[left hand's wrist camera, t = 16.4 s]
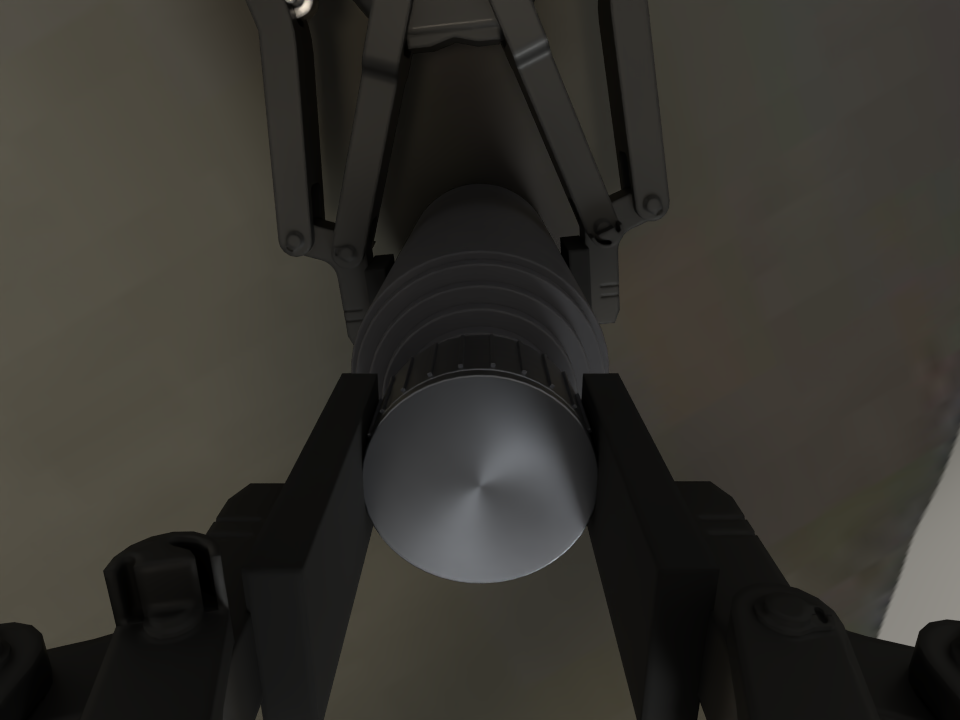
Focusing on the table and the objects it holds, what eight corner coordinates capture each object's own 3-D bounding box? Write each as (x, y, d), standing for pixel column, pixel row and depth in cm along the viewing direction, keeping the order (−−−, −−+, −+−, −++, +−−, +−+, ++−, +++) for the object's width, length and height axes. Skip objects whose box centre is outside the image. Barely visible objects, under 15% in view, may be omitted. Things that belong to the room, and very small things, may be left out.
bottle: (574, 281, 33) (712, 530, 13) (455, 345, 34) (422, 662, 15) (507, 155, 31) (554, 235, 11) (382, 229, 32) (232, 416, 13)
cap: (620, 461, 15) (644, 520, 13) (448, 551, 16) (443, 620, 14) (516, 291, 14) (523, 326, 11) (334, 399, 14) (309, 450, 12)
